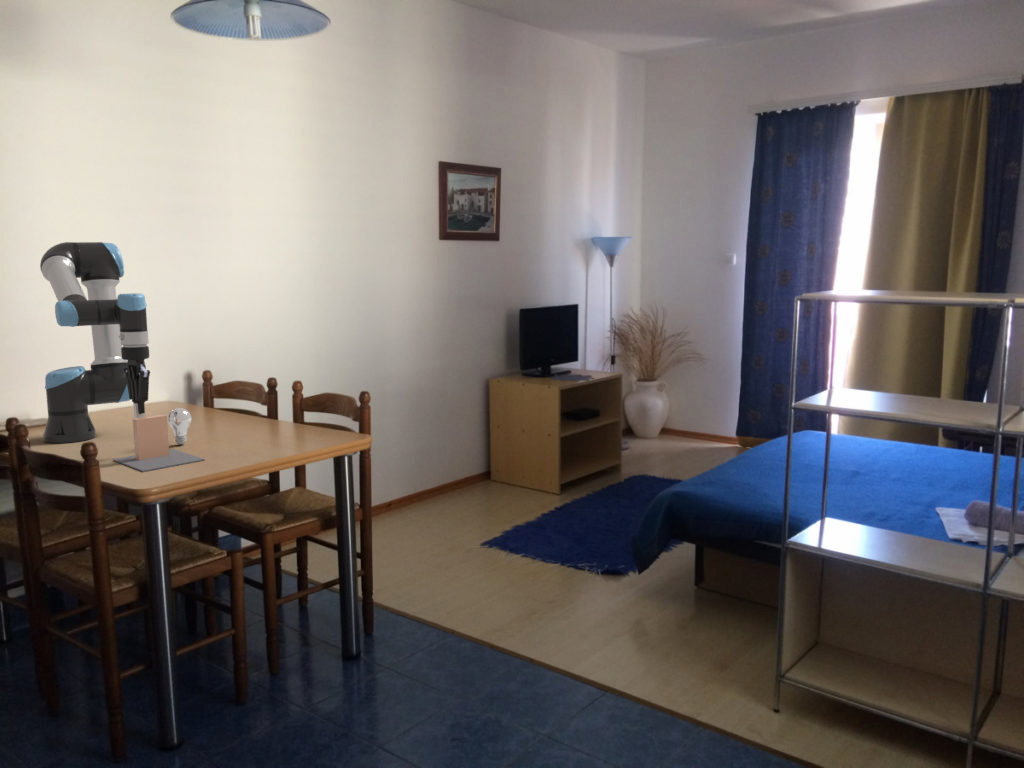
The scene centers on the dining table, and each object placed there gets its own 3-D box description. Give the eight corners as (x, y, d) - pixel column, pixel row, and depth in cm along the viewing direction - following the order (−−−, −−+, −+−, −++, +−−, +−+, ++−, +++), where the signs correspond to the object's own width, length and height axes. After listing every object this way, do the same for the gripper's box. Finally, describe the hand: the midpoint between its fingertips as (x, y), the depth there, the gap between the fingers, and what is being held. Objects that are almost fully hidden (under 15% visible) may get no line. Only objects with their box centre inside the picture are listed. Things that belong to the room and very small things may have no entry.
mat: (113, 460, 241) (113, 459, 241) (173, 450, 254) (173, 448, 254) (143, 472, 228) (142, 470, 227) (204, 460, 241) (204, 459, 241)
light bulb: (172, 448, 256) (170, 410, 254) (167, 444, 262) (164, 407, 260) (195, 445, 260) (193, 408, 258) (189, 441, 266) (187, 405, 264)
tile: (135, 459, 241) (132, 418, 239) (165, 453, 248) (163, 414, 246) (139, 460, 239) (136, 419, 238) (169, 454, 246) (166, 415, 244)
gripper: (112, 345, 245) (118, 422, 248) (131, 348, 236) (137, 428, 240) (138, 343, 250) (143, 419, 254) (157, 346, 242) (162, 424, 245)
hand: (140, 423), depth 247 cm, fingers closed
